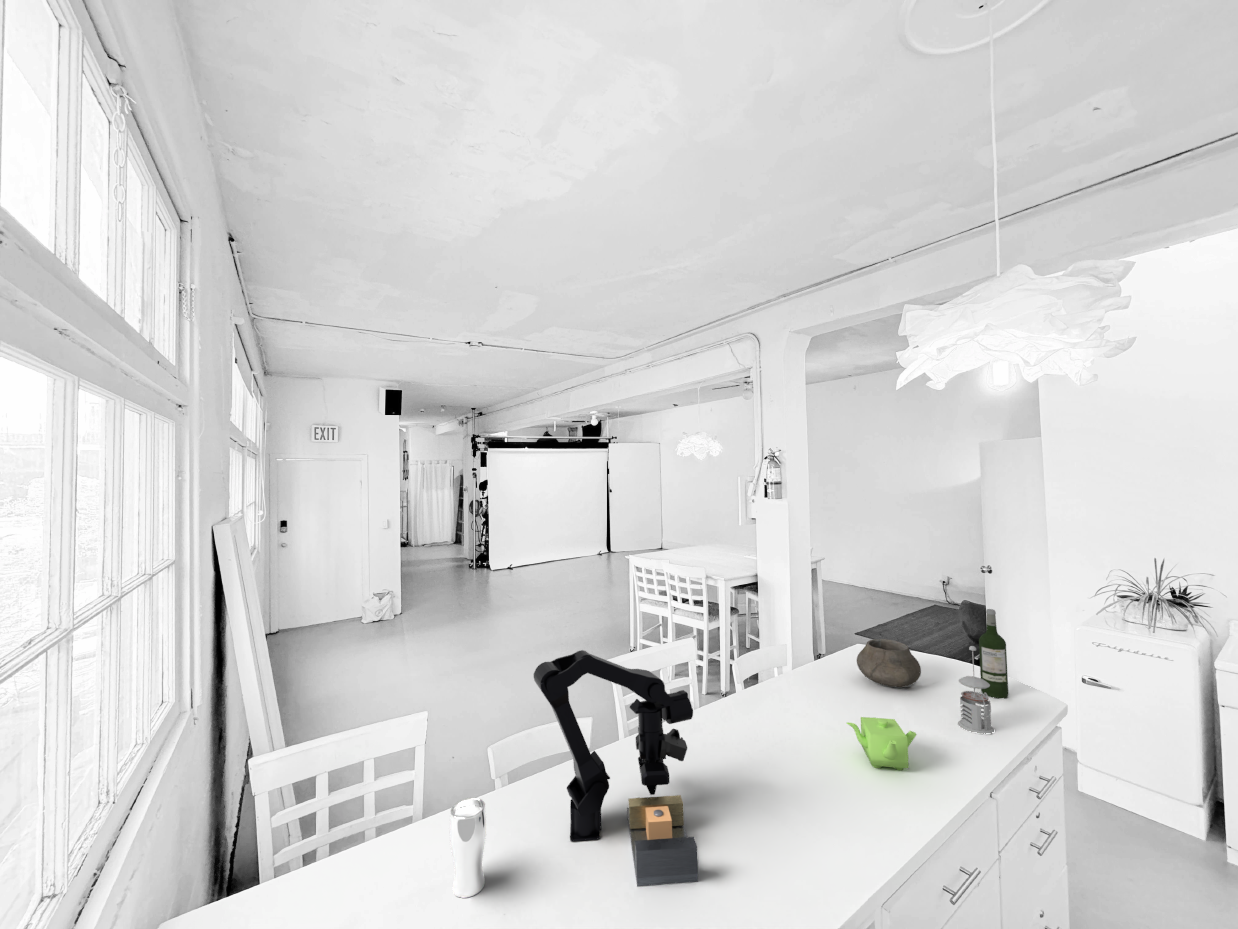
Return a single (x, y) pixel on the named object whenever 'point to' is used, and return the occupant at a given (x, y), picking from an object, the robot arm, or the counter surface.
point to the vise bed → (664, 857)
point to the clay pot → (888, 663)
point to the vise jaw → (639, 806)
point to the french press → (969, 707)
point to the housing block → (658, 823)
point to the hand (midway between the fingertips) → (652, 793)
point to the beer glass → (468, 846)
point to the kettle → (884, 742)
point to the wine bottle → (993, 659)
